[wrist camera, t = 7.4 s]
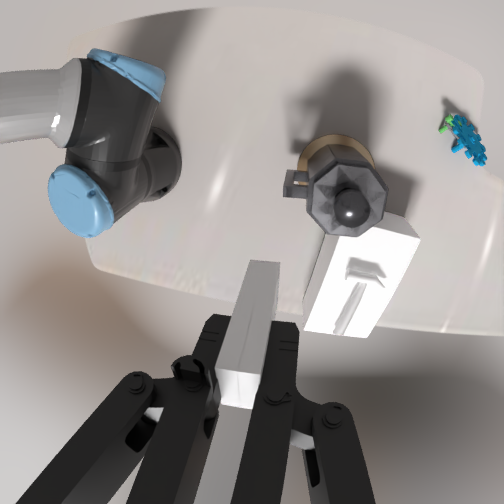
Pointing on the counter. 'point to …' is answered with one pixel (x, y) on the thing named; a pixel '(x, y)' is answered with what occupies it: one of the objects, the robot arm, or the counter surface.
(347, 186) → the carafe
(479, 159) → the gear
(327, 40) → the counter surface
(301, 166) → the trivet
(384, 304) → the tissue box
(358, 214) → the plunger
